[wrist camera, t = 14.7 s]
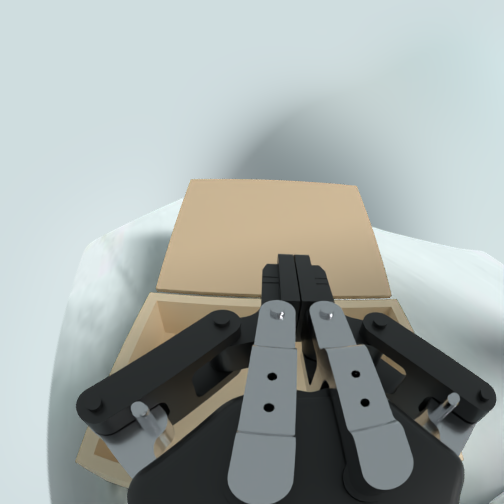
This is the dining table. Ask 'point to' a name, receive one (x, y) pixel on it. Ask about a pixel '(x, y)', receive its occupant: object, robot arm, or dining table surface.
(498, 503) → the jar
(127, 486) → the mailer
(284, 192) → the lid
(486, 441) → the dining table surface
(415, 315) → the dining table surface
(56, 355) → the dining table surface
